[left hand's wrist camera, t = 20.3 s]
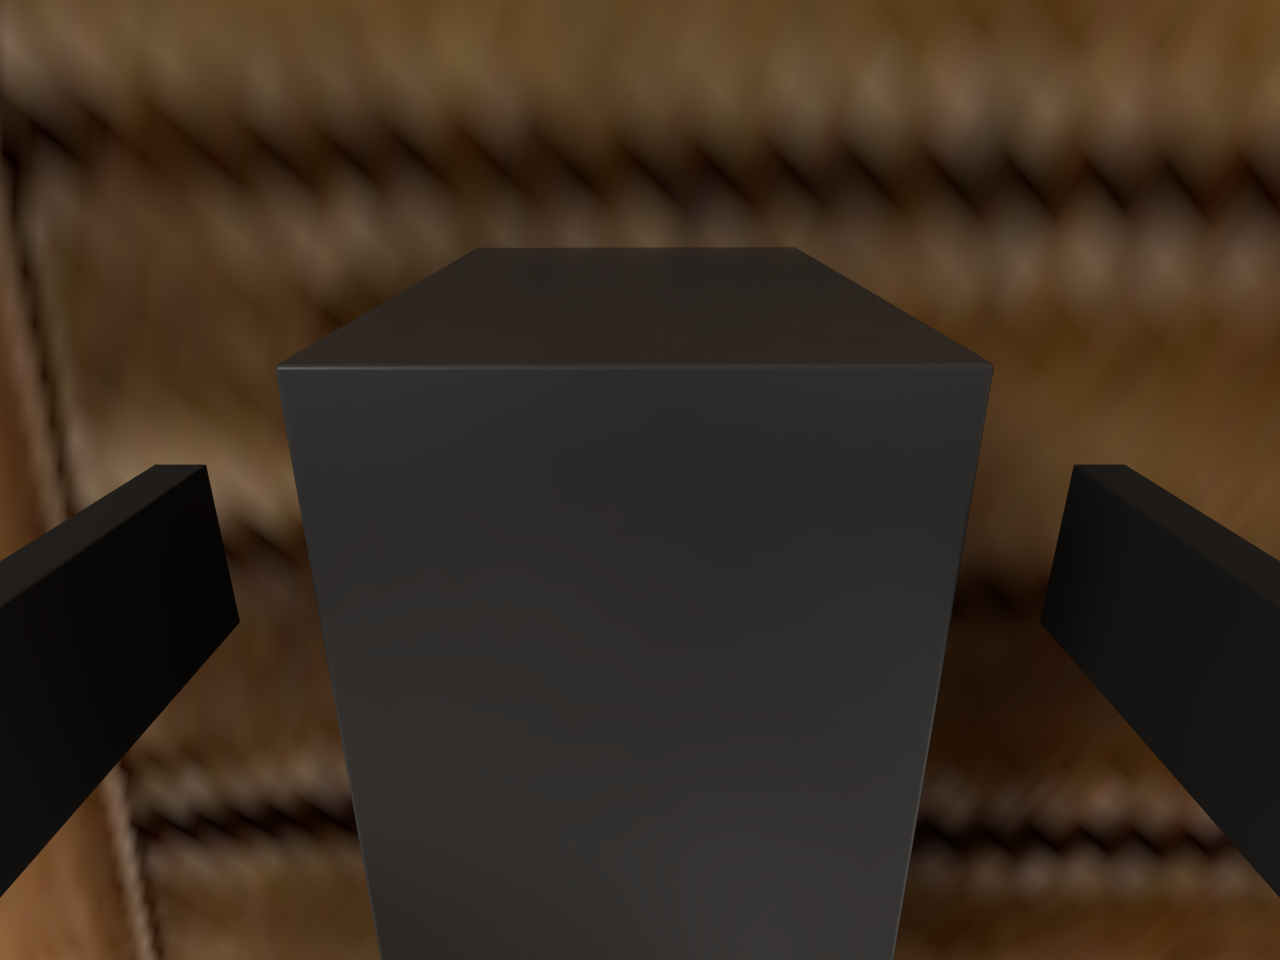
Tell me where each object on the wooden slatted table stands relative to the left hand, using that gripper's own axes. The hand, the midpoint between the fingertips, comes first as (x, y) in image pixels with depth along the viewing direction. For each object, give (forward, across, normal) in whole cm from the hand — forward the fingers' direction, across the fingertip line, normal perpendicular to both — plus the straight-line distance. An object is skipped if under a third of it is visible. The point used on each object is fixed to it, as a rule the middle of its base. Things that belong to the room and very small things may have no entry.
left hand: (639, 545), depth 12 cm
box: (+4, 0, -7) cm, 8 cm away
